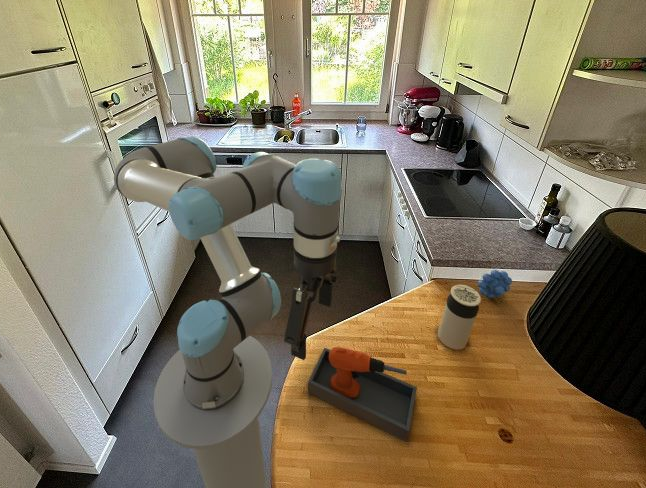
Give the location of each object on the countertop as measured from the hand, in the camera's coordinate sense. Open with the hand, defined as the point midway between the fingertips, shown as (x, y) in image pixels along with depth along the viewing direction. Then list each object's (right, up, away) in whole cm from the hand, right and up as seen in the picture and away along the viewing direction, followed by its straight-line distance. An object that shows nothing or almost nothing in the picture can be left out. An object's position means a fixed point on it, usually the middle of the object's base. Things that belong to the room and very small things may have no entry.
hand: (312, 328), depth 66 cm
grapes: (+62, -9, +43) cm, 76 cm away
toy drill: (+13, -23, +15) cm, 31 cm away
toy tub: (+13, -24, +15) cm, 31 cm away
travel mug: (+42, -16, +30) cm, 54 cm away
